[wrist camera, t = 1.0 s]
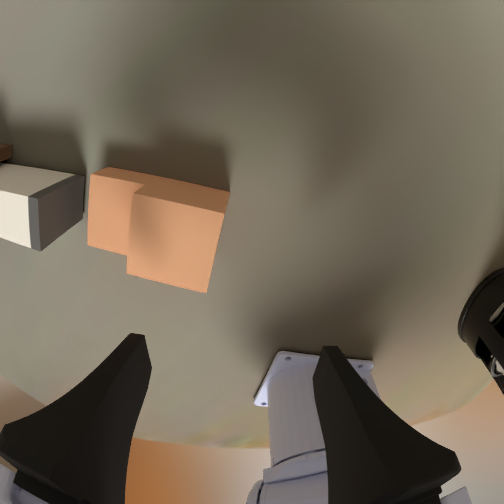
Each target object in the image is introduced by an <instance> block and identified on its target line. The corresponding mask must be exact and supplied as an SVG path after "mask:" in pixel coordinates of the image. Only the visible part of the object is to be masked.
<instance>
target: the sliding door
mask: <svg viewBox="0 0 504 504" xmlns="http://www.w3.org/2000/svg"><path fill="white" fill-rule="evenodd" d="M84 180H85V176H81V175H76V174H70V173H64V172H58V171H52V170H46V169H40V168H33V167H26V166H20V165H13V164H6V163H0V237H1V238H4V239H6V240H9V241H12V242H15V243H18V244H20V245H23V246H26V247H29V248H32V249H35V250H38V251H42V250H43V249H45V248H46V247H47V246H48V245H49V244H51V243H52V242H53V241H54V240H56V239H57V238H58V237H59V236H61V235H62V234H63V233H65V232H66V231H67V230H68V229H70V228H71V227H72V226H74V225H75V224H76V223H78V222H79V221H80V220H82V219H83V195H84Z"/></svg>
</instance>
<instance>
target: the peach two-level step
mask: <svg viewBox="0 0 504 504" xmlns="http://www.w3.org/2000/svg"><path fill="white" fill-rule="evenodd" d="M229 194H230V192H228V191H223V190H219V189H215V188H211V187H206V186H202V185H197V184H193V183H188V182H184V181H179V180H174V179H170V178H165V177H160V176H155V175H150V174H145V173H140V172H134V171H129V170H123V169H118V168H112V167H106V168H104V169H102V170H99V171H97V172H95V173H92V174H91V177H90V189H89V206H88V245H89V246H93V247H97V248H100V249H104V250H108V251H112V252H115V253H119V254H123V255H127V274H131V275H134V276H138V277H142V278H146V279H150V280H154V281H158V282H161V283H165V284H169V285H174V286H178V287H182V288H186V289H190V290H194V291H199V292H203V293H206V292H207V288H208V283H209V279H210V274H211V270H212V266H213V261H214V257H215V253H216V248H217V244H218V240H219V236H220V231H221V227H222V223H223V219H224V215H225V211H226V207H227V203H228V198H229Z"/></svg>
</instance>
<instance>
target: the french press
mask: <svg viewBox="0 0 504 504" xmlns="http://www.w3.org/2000/svg"><path fill="white" fill-rule="evenodd" d="M503 302H504V268H502V269H499V270H497V271H495V272H493V273H492V274H491V275H489V276H488V277H487V278H486V279H485V280H484V281H483V282H482V283H481V284H480V285H479V286H478V287H477V289H476V290H475V291H474V292H473V294H472V295H471V297H470V298H469V300H468V302H467V303H466V305H465V307H464V309H463V311H462V313H461V316H460V319H459V323H458V334H459V336H460V338H461V340H462V341H463V342H465V343H467V345H468V346H469V347H470V349H471V350H472V352H473V353H474V355H475V356H476V357H477V358H479V359H481V360H482V361H483V363H484V364H485V366H486V367H487V369H488V370H489V372H490V373H491V375H492V377H493V378H494V379H495V381H496V383H497V384H498V386H499V388H500V389H501V391H502V393H503V394H504V375H503V374H504V312H503V313H502V315H501V316H500V317H499V319H498V320H497V321H496V322H495V323H494V324H493V325H492V324H491V323H490V322H489V319H490V317H491V316H492V315H493V313H494V312H495V311H496V310H497V308H498V307H499V306H500V305H501V304H502V303H503ZM492 355H493V356H492ZM491 356H492V358H491Z"/></svg>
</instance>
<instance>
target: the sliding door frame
mask: <svg viewBox="0 0 504 504" xmlns="http://www.w3.org/2000/svg"><path fill="white" fill-rule="evenodd" d="M9 158H12V145H4V144H0V162H1V161H4V160H6V159H9Z"/></svg>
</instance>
